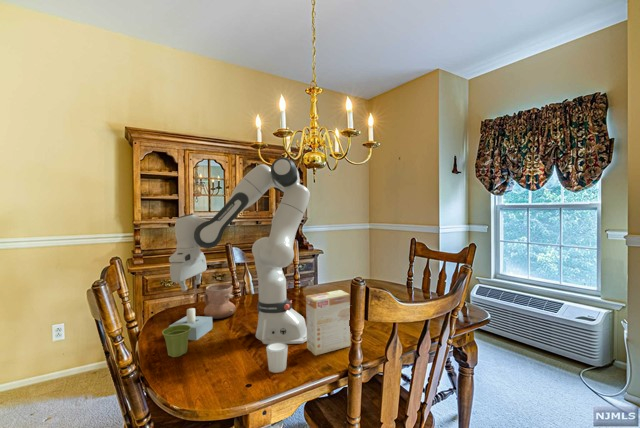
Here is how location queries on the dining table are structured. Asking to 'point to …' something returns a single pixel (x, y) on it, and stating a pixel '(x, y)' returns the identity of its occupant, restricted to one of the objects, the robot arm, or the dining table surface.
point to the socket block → (196, 326)
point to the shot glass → (277, 356)
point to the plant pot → (176, 339)
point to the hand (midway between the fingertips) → (191, 287)
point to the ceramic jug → (219, 301)
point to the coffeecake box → (328, 321)
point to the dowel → (191, 315)
